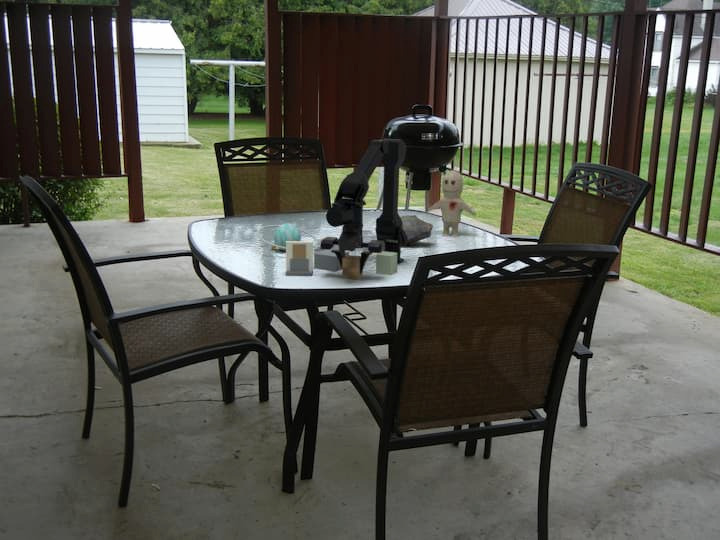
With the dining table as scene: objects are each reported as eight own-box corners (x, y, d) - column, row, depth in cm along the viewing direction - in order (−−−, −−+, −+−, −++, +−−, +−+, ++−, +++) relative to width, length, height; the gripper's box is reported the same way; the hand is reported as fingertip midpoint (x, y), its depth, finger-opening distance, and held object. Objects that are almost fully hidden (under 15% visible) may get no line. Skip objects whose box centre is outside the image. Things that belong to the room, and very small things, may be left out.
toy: (424, 234, 296) (426, 169, 289) (431, 231, 302) (433, 167, 296) (470, 239, 288) (473, 172, 282) (476, 236, 295) (479, 170, 288)
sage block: (382, 269, 242) (382, 251, 240) (397, 271, 240) (397, 252, 238) (375, 273, 237) (376, 254, 236) (390, 275, 235) (391, 256, 234)
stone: (429, 209, 284) (432, 216, 269) (432, 237, 286) (436, 245, 272) (381, 215, 284) (382, 222, 270) (385, 243, 287) (386, 251, 272)
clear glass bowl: (314, 217, 275) (259, 227, 274) (312, 218, 254) (253, 228, 254) (319, 245, 275) (263, 254, 275) (318, 248, 255) (258, 258, 255)
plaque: (313, 271, 238) (312, 240, 235) (312, 275, 233) (312, 243, 230) (287, 271, 238) (286, 239, 235) (285, 275, 233) (285, 243, 230)
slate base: (328, 263, 249) (328, 248, 248) (349, 267, 245) (349, 251, 244) (314, 268, 243) (314, 253, 241) (335, 272, 239) (335, 256, 237)
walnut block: (342, 278, 231) (342, 258, 229) (346, 274, 235) (346, 255, 234) (358, 279, 229) (358, 259, 228) (362, 275, 234) (362, 256, 233)
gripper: (314, 224, 223) (314, 276, 227) (377, 228, 218) (376, 281, 222) (325, 218, 233) (325, 268, 237) (385, 221, 229) (384, 272, 233)
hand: (352, 272), depth 232 cm, fingers closed on walnut block, 5 cm apart
